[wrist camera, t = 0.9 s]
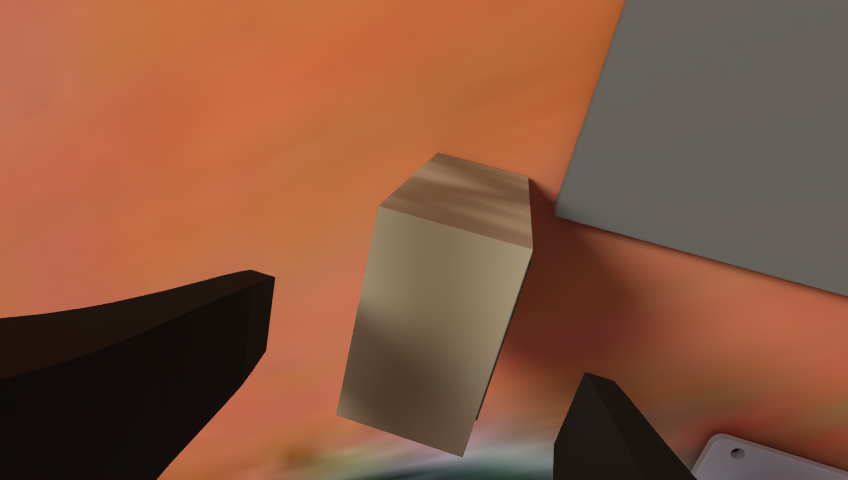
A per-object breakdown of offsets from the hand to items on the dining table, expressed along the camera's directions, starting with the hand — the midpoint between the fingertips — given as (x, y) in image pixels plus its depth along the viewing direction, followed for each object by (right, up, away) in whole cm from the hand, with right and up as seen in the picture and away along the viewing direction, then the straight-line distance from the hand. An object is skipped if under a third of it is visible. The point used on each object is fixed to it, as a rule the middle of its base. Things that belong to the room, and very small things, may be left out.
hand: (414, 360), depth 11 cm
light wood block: (+2, +3, +8) cm, 9 cm away
